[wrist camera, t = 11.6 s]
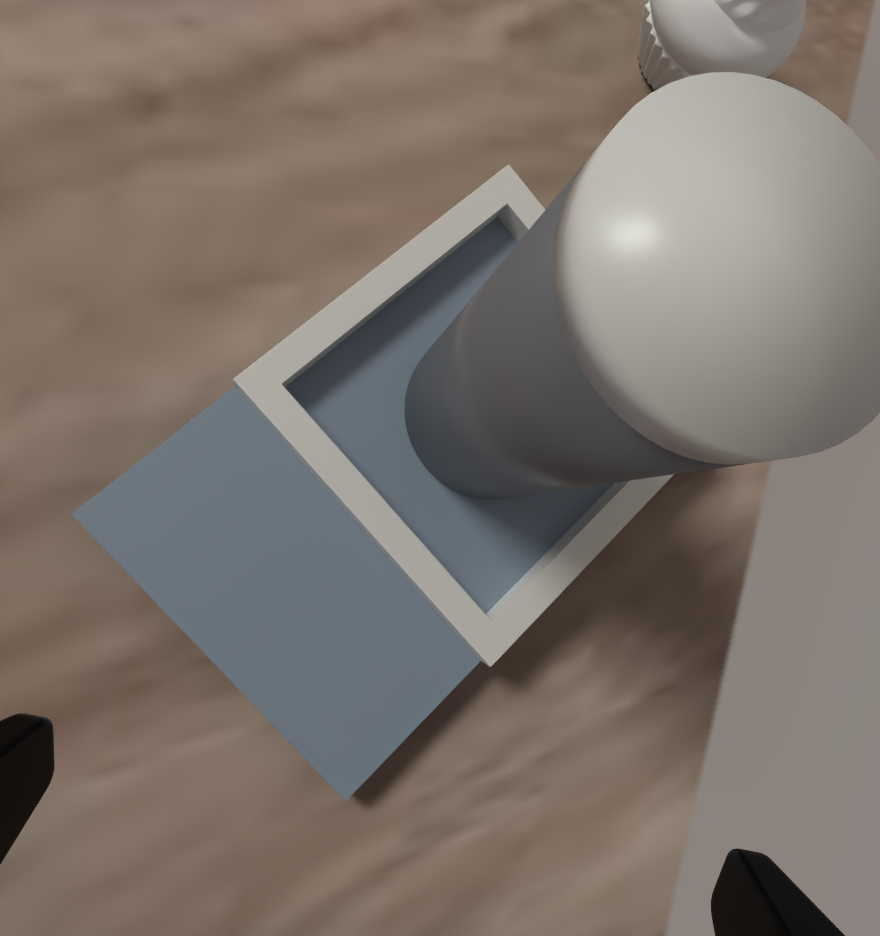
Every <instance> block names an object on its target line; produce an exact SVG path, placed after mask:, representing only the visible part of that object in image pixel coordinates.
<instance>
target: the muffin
mask: <svg viewBox="0 0 880 936" xmlns="http://www.w3.org/2000/svg"><path fill="white" fill-rule="evenodd" d="M805 15H806V0H644V7H643V15H642V23H641V31H640V40H639V48H638V49H639V51H638V57H639V65H640V66H641V72H642V73H643V77H644V78H646V79H647V83H648V84H650V85H651V86H652V88H653V89H654V90H658V89H659V88H661V87H663V86H665V85H667V84H669V83H671V82H674V81H677V80H680V79H683V78H686V77H689V76H693V75H699V74H705V73H710V72H736V73H744V74H752V75H756V76H760V77H764V78H766V77H767V76H769V75H770V74H772V73H773V72H775V71H776V70H777V69H778V68H779V67H780V66H781V65H782V64H783V63H784V62H785V61H786V60H787V59H788V57H789V56H790V55H791V53H792V52H793V50H794V49H795V47H796V46H797V44H798V42H799V40H800V38H801V35H802V32H803V28H804V23H805Z"/></svg>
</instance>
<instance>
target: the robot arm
mask: <svg viewBox="0 0 880 936" xmlns="http://www.w3.org/2000/svg"><path fill="white" fill-rule="evenodd" d="M53 772H54V737H53V724H52V722H51V721H50V719H47V718H45V717H40V716H35V715H30V714H16V715H13V716H10V717H8V718H6V719H4V720H1V721H0V864H1V863H2V861H3V859H4V858H5V856H6V854H7V853H8V851H9V850H10V848H11V846H12V845H13V843H14V841H15V840H16V838H17V837H18V835H19V833H20V832H21V830H22V829H23V827H24V825H25V824H26V822H27V820H28V819H29V817H30V816H31V814H32V812H33V811H34V809H35V807H36V806H37V804H38V803H39V801H40V799H41V798H42V796H43V794H44V793H45V791H46V790H47V788H48V786H49V784H50V782H51V779H52V776H53ZM711 914H712V920H713V926H714V931H715V936H845V935H844V934H843V933H842V932H841V931H840V930H839V929H838V928H837V927H836V926H835V925H834V924H833V923H832V922H831V921H830V920H829V919H828V918H827V917H826V916H825V914H824V913H822V911H821V910H820V909H819V908H817V906H816V905H815V904H814V903H813V902H812V901H811V900H810V899H809V898H808V897H807V896H806V895H805V894H804V893H803V892H802V891H801V890H800V889H799V888H798V887H797V886H796V885H795V884H794V883H793V882H792V880H790V878H789V877H788V876H787V875H786V874H785V873H784V872H783V871H782V870H781V869H780V868H779V867H778V866H777V865H776V864H775V863H774V862H773V861H772V860H771V859H770V858H769V857H768V856H766V855H764V854H762V853H758V852H753V851H748V850H742V849H733V850H731V851H730V852H729V853H728V855H727V857H726V860H725V862H724V865H723V867H722V870H721V872H720V875H719V878H718V880H717V883H716V885H715V888H714V891H713V894H712V899H711Z"/></svg>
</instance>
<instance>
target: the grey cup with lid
mask: <svg viewBox="0 0 880 936" xmlns="http://www.w3.org/2000/svg"><path fill="white" fill-rule="evenodd" d="M404 411H405V423H406V428H407V433H408V436H409V439H410V442H411V444H412V446H413V449H414V451H415V453H416V455H417V456H418V458H419V459H420V461H421V462H422V464H423V465H424V466H425V467H426V469H427V470H428V471H429V472H430V473H431V474H432V475H433V476H434V477H435V478H436V479H437V480H439V481H440V482H441V483H443V484H444V485H446V486H447V487H449V488H451V489H452V490H454V491H456V492H458V493H461V494H464V495H467V496H470V497H474V498H479V499H503V498H510V497H517V496H524V495H531V494H539V493H546V492H553V491H560V490H567V489H574V488H581V487H588V486H595V485H602V484H609V483H616V482H623V481H630V480H637V479H644V478H651V477H658V476H666V475H673V474H680V473H687V472H694V471H701V470H708V469H715V468H722V467H729V466H736V465H743V464H750V463H757V462H764V461H771V460H778V459H785V458H792V457H798V456H803V455H808V454H812V453H817V452H820V451H823V450H825V449H828V448H830V447H833V446H836V445H838V444H840V443H842V442H843V441H845V440H847V439H848V438H850V437H852V436H853V435H855V434H856V433H858V432H859V431H860V430H861V429H863V428H864V427H865V426H866V425H868V424H869V423H870V422H871V421H872V420H873V419H874V418H875V417H876V416H877V415H878V414H879V412H880V164H879V163H878V161H877V160H876V158H875V157H874V156H873V154H872V153H871V152H870V150H869V149H868V147H867V146H866V145H865V144H864V143H863V142H862V141H861V140H860V139H859V137H858V136H857V135H856V134H855V133H854V132H853V131H852V130H851V129H850V128H849V127H848V126H847V125H846V124H845V123H844V122H843V121H842V120H840V119H839V118H838V117H837V116H836V115H835V114H834V113H832V112H831V111H830V110H828V109H827V108H825V107H824V106H823V105H821V104H820V103H819V102H817V101H816V100H814V99H812V98H811V97H809V96H807V95H805V94H804V93H802V92H800V91H798V90H796V89H794V88H792V87H789V86H787V85H785V84H782V83H780V82H777V81H775V80H771V79H768V78H764V77H760V76H756V75H752V74H744V73H736V72H710V73H705V74H699V75H693V76H689V77H686V78H683V79H680V80H677V81H674V82H671V83H669V84H667V85H665V86H663V87H661V88H659V89H658V90H656V91H654V92H652V93H650V94H649V95H648V96H646V97H645V98H644V99H643V100H641V101H640V102H639V103H637V104H636V105H635V106H634V107H633V108H632V109H631V110H630V111H629V112H628V113H627V114H626V115H625V116H624V117H623V118H622V119H621V120H620V121H619V123H618V124H617V125H616V126H615V127H614V128H613V130H612V131H611V132H610V133H609V134H608V136H607V137H606V138H605V139H604V140H603V142H602V143H601V144H600V145H599V146H598V148H597V149H596V150H595V151H594V152H593V154H592V155H591V156H590V157H589V158H588V160H587V161H586V162H585V163H584V164H583V166H582V167H581V168H580V169H579V170H578V172H577V173H576V174H575V175H574V176H573V177H572V179H571V180H570V181H569V182H568V183H567V185H566V186H565V187H564V188H563V189H562V191H561V192H560V193H559V194H558V195H557V197H556V198H555V199H554V200H553V201H552V203H551V204H550V205H549V206H548V207H547V209H546V210H545V211H544V212H543V213H542V215H541V216H540V217H539V218H538V219H537V221H536V222H535V223H534V224H533V225H532V227H531V228H530V229H529V230H528V231H527V233H526V234H525V235H524V236H523V237H522V239H521V240H520V241H519V242H518V243H517V245H516V246H515V247H514V248H513V249H512V250H511V252H510V253H509V254H508V255H507V256H506V258H505V259H504V260H503V261H502V262H501V264H500V265H499V266H498V267H497V268H496V270H495V271H494V272H493V273H492V274H491V276H490V277H489V278H488V279H487V280H486V282H485V283H484V284H483V285H482V286H481V288H480V289H479V290H478V291H477V292H476V294H475V295H474V296H473V297H472V298H471V300H470V301H469V302H468V303H467V304H466V306H465V307H464V308H463V309H462V310H461V312H460V313H459V314H458V315H457V316H456V317H455V319H454V320H453V321H452V322H451V323H450V325H449V326H448V327H447V328H446V329H445V331H444V332H443V333H442V334H441V335H440V337H439V338H438V339H437V340H436V341H435V343H434V344H433V345H432V346H431V347H430V349H429V350H428V351H427V352H426V353H425V355H424V356H423V357H422V358H421V360H420V361H419V363H418V364H417V366H416V367H415V369H414V371H413V373H412V375H411V378H410V381H409V383H408V386H407V391H406V396H405V408H404Z"/></svg>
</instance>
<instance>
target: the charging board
mask: <svg viewBox="0 0 880 936" xmlns="http://www.w3.org/2000/svg"><path fill="white" fill-rule="evenodd" d="M544 211H545V209H544V208H543V207H542V205H541V204H540V203H539V202H538V200H537V199H536V198H535V197H534V195H533V194H532V193H531V192H530V190H529V189H528V188H527V187H526V185H525V184H524V183H523V182H522V180H521V179H520V178H519V177H518V175H517V174H516V173H515V172H514V170H513V169H512V168H511V167H510V165H509V164H508V165H507V166H506V167H504V168H503V169H502V170H501V171H499V172H498V173H497V174H495V175H494V176H493V177H492V178H490V179H489V180H488V181H487V182H485V183H484V184H483V185H481V186H480V187H479V188H478V189H476V190H475V191H474V192H472V193H471V194H470V195H469V196H467V197H466V198H465V199H463V200H462V201H461V202H460V203H458V204H457V205H456V206H454V207H453V208H452V209H451V210H449V211H448V212H447V213H445V214H444V215H443V216H442V217H440V218H439V219H438V220H436V221H435V222H434V223H433V224H431V225H430V226H429V227H427V228H426V229H425V230H424V231H422V232H421V233H420V234H418V235H417V236H416V237H415V238H413V239H412V240H411V241H410V242H408V243H407V244H406V245H404V246H403V247H402V248H401V249H399V250H398V251H397V252H395V253H394V254H393V255H392V256H390V257H389V258H388V259H386V260H385V261H384V262H383V263H381V264H380V265H379V266H377V267H376V268H375V269H374V270H372V271H371V272H370V273H368V274H367V275H366V276H365V277H363V278H362V279H361V280H359V281H358V282H357V283H356V284H354V285H353V286H352V287H350V288H349V289H348V290H347V291H345V292H344V293H343V294H341V295H340V296H339V297H338V298H336V299H335V300H334V301H333V302H331V303H330V304H329V305H327V306H326V307H325V308H324V309H322V310H321V311H320V312H318V313H317V314H316V315H315V316H313V317H312V318H311V319H309V320H308V321H307V322H306V323H304V324H303V325H302V326H300V327H299V328H298V329H297V330H295V331H294V332H293V333H291V334H290V335H289V336H288V337H286V338H285V339H284V340H282V341H281V342H280V343H279V344H277V345H276V346H275V347H273V348H272V349H271V350H270V351H268V352H267V353H266V354H265V355H263V356H262V357H261V358H259V359H258V360H257V361H256V362H254V363H253V364H252V365H250V366H249V367H248V368H247V369H245V370H244V371H243V372H241V373H240V374H239V375H238V376H236V377H235V378H234V379H233V381H234V385H235V386H234V387H233V388H232V389H230V390H229V391H228V392H227V393H225V394H224V395H223V396H222V397H220V398H219V399H218V400H216V401H215V402H214V403H213V404H211V405H210V406H209V407H207V408H206V409H205V410H204V411H202V412H201V413H200V414H199V415H197V416H196V417H195V418H193V419H192V420H191V421H190V422H188V423H187V424H186V425H185V426H183V427H182V428H181V429H179V430H178V431H177V432H176V433H174V434H173V435H172V436H170V437H169V438H168V439H167V440H165V441H164V442H163V443H162V444H160V445H159V446H158V447H156V448H155V449H154V450H153V451H151V452H150V453H149V454H147V455H146V456H145V457H144V458H142V459H141V460H140V461H139V462H137V463H136V464H135V465H133V466H132V467H131V468H130V469H128V470H127V471H126V472H125V473H123V474H122V475H121V476H119V477H118V478H117V479H116V480H114V481H113V482H112V483H110V484H109V485H108V486H107V487H105V488H104V489H103V490H102V491H100V492H99V493H98V494H96V495H95V496H94V497H93V498H91V499H90V500H89V501H88V502H86V503H85V504H84V505H82V506H81V507H80V508H79V509H77V510H76V511H75V512H73V513H72V515H73V516H74V518H75V519H76V520H77V521H78V522H79V523H80V524H81V525H82V526H83V527H84V528H85V529H86V530H87V531H88V532H89V533H90V534H91V535H92V536H93V537H94V538H95V540H96V541H97V542H98V543H99V544H100V545H101V546H102V547H103V548H104V549H105V550H106V551H107V552H108V553H109V554H110V555H111V556H112V557H113V558H114V559H115V560H116V561H117V563H118V564H119V565H120V566H121V567H122V568H123V569H124V570H125V571H126V572H127V573H128V574H129V575H130V576H131V577H132V578H133V579H134V580H135V581H136V582H137V583H138V585H139V586H140V587H141V588H142V589H143V590H144V591H145V592H146V593H147V594H148V595H149V596H150V597H151V598H152V599H153V600H154V601H155V602H156V603H157V604H158V605H159V607H160V608H161V609H162V610H163V611H164V612H165V613H166V614H167V615H168V616H169V617H170V618H171V619H172V620H173V621H174V622H175V623H176V624H177V625H178V626H179V627H180V628H181V630H182V631H183V632H184V633H185V634H186V635H187V636H188V637H189V638H190V639H191V640H192V641H193V642H194V643H195V644H196V645H197V646H198V647H199V648H200V649H201V650H202V652H203V653H204V654H205V655H206V656H207V657H208V658H209V659H210V660H211V661H212V662H213V663H214V664H215V665H216V666H217V667H218V668H219V669H220V670H221V671H222V672H223V673H224V675H225V676H226V677H227V678H228V679H229V680H230V681H231V682H232V683H233V684H234V685H235V686H236V687H237V688H238V689H239V690H240V691H241V692H242V693H243V694H244V695H245V697H246V698H247V699H248V700H249V701H250V702H251V703H252V704H253V705H254V706H255V707H256V708H257V709H258V710H259V711H260V712H261V713H262V714H263V715H264V716H265V717H266V719H267V720H268V721H269V722H270V723H271V724H272V725H273V726H274V727H275V728H276V729H277V730H278V731H279V732H280V733H281V734H282V735H283V736H284V737H285V738H286V739H287V740H288V742H289V743H290V744H291V745H292V746H293V747H294V748H295V749H296V750H297V751H298V752H299V753H300V754H301V755H302V756H303V757H304V758H305V759H306V760H307V761H308V762H309V764H310V765H311V766H312V767H313V768H314V769H315V770H316V771H317V772H318V773H319V774H320V775H321V776H322V777H323V778H324V779H325V780H326V781H327V782H328V783H329V784H330V786H331V787H332V788H333V789H334V790H335V791H336V792H337V793H338V794H339V795H340V796H341V797H342V798H343V799H344V800H345V801H347V800H348V799H349V798H350V796H351V795H352V794H353V793H354V792H355V791H356V790H357V789H358V788H359V787H360V786H361V785H362V784H363V783H364V782H365V781H366V780H367V779H368V778H369V777H370V776H371V775H372V774H373V773H374V771H375V770H376V769H377V768H378V767H379V766H380V765H381V764H382V763H383V762H384V761H385V760H386V759H387V758H388V757H389V756H390V755H391V754H392V753H393V752H394V751H395V750H396V749H397V748H398V746H399V745H400V744H401V743H402V742H403V741H404V740H405V739H406V738H407V737H408V736H409V735H410V734H411V733H412V732H413V731H414V730H415V729H416V728H417V727H418V726H419V725H420V724H421V723H422V721H423V720H424V719H425V718H426V717H427V716H428V715H429V714H430V713H431V712H432V711H433V710H434V709H435V708H436V707H437V706H438V705H439V704H440V703H441V702H442V701H443V700H444V699H445V698H446V696H447V695H448V694H449V693H450V692H451V691H452V690H453V689H454V688H455V687H456V686H457V685H458V684H459V683H460V682H461V681H462V680H463V679H464V678H465V677H466V676H467V675H468V674H469V673H470V671H471V670H472V669H473V668H474V667H475V666H476V665H477V664H478V663H479V662H480V661H482V662H483V663H485V664H486V665H488V666H489V667H491V666H492V665H493V664H494V663H495V662H496V661H497V660H498V659H499V658H500V657H501V656H502V655H503V654H504V653H505V652H506V650H507V649H508V648H509V647H510V646H511V645H512V644H513V643H514V642H515V641H516V640H517V639H518V638H519V637H520V636H521V635H522V634H523V633H524V632H525V630H526V629H527V628H528V627H529V626H530V625H531V624H532V623H533V622H534V621H535V620H536V619H537V618H538V617H539V616H540V615H541V614H542V613H543V612H544V611H545V609H546V608H547V607H548V606H549V605H550V604H551V603H552V602H553V601H554V600H555V599H556V598H557V597H558V596H559V595H560V594H561V593H562V592H563V591H564V590H565V588H566V587H567V586H568V585H569V584H570V583H571V582H572V581H573V580H574V579H575V578H576V577H577V576H578V575H579V574H580V573H581V572H582V571H583V570H584V569H585V567H586V566H587V565H588V564H589V563H590V562H591V561H592V560H593V559H594V558H595V557H596V556H597V555H598V554H599V553H600V552H601V551H602V550H603V549H604V547H605V546H606V545H607V544H608V543H609V542H610V541H611V540H612V539H613V538H614V537H615V536H616V535H617V534H618V533H619V532H620V531H621V530H622V529H623V528H624V526H625V525H626V524H627V523H628V522H629V521H630V520H631V519H632V518H633V517H634V516H635V515H636V514H637V513H638V512H639V511H640V510H641V509H642V508H643V507H644V505H645V504H646V503H647V502H648V501H649V500H650V499H651V498H652V497H653V496H654V495H655V494H656V493H657V492H658V491H659V490H660V489H661V488H662V487H663V485H664V484H665V483H666V482H667V481H668V480H669V479H670V478H671V477H672V476H673V475H674V474H673V475H666V476H658V477H651V478H644V479H637V480H630V481H623V482H616V483H609V484H602V485H595V486H588V487H581V488H574V489H567V490H560V491H553V492H546V493H539V494H531V495H524V496H517V497H510V498H503V499H479V498H474V497H470V496H467V495H464V494H461V493H458V492H456V491H454V490H452V489H451V488H449V487H447V486H446V485H444V484H443V483H441V482H440V481H439V480H437V479H436V478H435V477H434V476H433V475H432V474H431V473H430V472H429V471H428V470H427V469H426V467H425V466H424V465H423V464H422V462H421V461H420V459H419V458H418V456H417V455H416V453H415V451H414V449H413V446H412V444H411V442H410V439H409V436H408V433H407V428H406V423H405V411H404V408H405V396H406V391H407V386H408V383H409V381H410V378H411V375H412V373H413V371H414V369H415V367H416V366H417V364H418V363H419V361H420V360H421V358H422V357H423V356H424V355H425V353H426V352H427V351H428V350H429V349H430V347H431V346H432V345H433V344H434V343H435V341H436V340H437V339H438V338H439V337H440V335H441V334H442V333H443V332H444V331H445V329H446V328H447V327H448V326H449V325H450V323H451V322H452V321H453V320H454V319H455V317H456V316H457V315H458V314H459V313H460V312H461V310H462V309H463V308H464V307H465V306H466V304H467V303H468V302H469V301H470V300H471V298H472V297H473V296H474V295H475V294H476V292H477V291H478V290H479V289H480V288H481V286H482V285H483V284H484V283H485V282H486V280H487V279H488V278H489V277H490V276H491V274H492V273H493V272H494V271H495V270H496V268H497V267H498V266H499V265H500V264H501V262H502V261H503V260H504V259H505V258H506V256H507V255H508V254H509V253H510V252H511V250H512V249H513V248H514V247H515V246H516V245H517V243H518V242H519V241H520V240H521V239H522V237H523V236H524V235H525V234H526V233H527V231H528V230H529V229H530V228H531V227H532V225H533V224H534V223H535V222H536V221H537V219H538V218H539V217H540V216H541V215H542V213H543V212H544Z"/></svg>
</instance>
